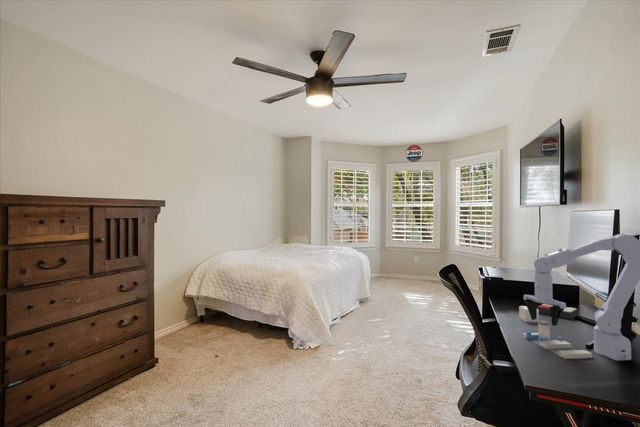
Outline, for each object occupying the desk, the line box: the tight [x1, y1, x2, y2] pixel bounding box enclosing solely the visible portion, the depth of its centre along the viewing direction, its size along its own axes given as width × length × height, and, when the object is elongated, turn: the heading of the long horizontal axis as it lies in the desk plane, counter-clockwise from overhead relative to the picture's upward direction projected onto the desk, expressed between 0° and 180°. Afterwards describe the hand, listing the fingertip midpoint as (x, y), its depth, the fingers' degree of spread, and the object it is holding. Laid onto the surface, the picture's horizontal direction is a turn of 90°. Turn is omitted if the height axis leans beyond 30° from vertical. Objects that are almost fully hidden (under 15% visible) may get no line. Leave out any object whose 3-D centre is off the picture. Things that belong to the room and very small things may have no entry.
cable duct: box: [522, 331, 593, 360], centre depth 117 cm, size 20×10×4 cm, turn 5°
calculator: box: [537, 303, 579, 321], centre depth 161 cm, size 11×4×15 cm
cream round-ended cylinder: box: [537, 320, 551, 340], centre depth 122 cm, size 4×4×8 cm
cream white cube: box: [518, 305, 540, 323], centre depth 152 cm, size 6×6×6 cm
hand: (543, 322), depth 123 cm, fingers open, 7 cm apart
